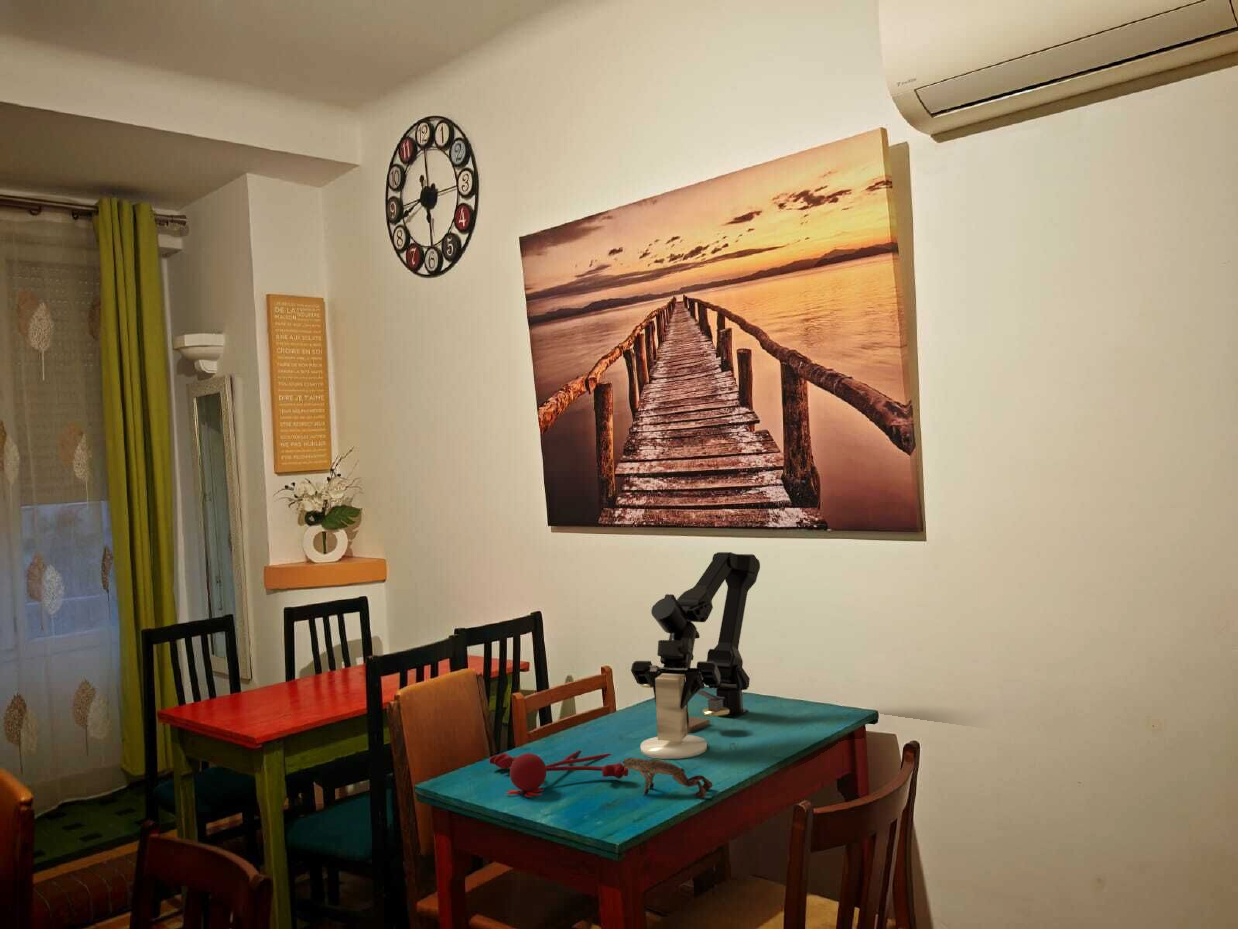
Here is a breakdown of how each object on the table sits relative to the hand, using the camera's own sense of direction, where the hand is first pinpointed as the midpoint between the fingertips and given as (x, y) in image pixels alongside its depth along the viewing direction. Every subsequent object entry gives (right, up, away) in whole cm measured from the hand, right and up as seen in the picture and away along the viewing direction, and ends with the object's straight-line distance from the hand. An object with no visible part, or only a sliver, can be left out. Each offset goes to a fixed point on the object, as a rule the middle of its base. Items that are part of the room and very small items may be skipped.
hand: (669, 707), depth 216 cm
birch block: (+1, -7, +1) cm, 7 cm away
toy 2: (-2, -10, -26) cm, 28 cm away
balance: (+5, -9, +19) cm, 22 cm away
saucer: (+1, -9, +1) cm, 9 cm away
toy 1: (-22, -11, -11) cm, 27 cm away
